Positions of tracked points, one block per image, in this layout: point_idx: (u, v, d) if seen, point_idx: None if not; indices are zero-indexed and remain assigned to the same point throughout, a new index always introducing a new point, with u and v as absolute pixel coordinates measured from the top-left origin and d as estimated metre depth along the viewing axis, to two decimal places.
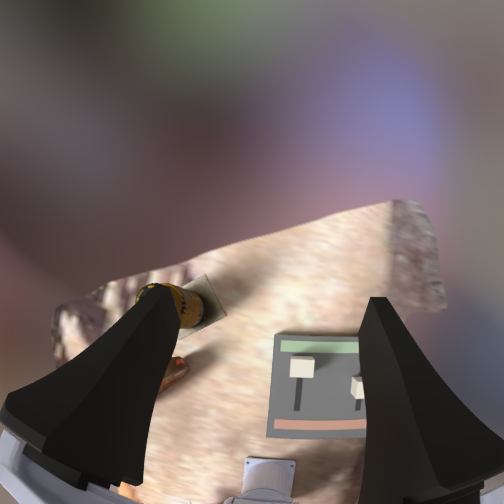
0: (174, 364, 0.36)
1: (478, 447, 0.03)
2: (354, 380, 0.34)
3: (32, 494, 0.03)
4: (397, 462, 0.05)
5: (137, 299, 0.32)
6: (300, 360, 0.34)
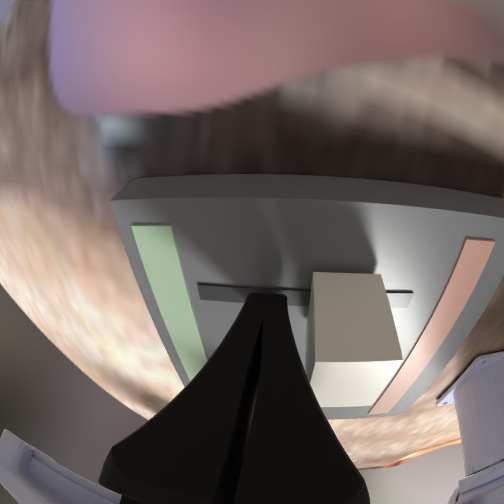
0: None
1: (314, 475, 0.04)
2: None
3: (32, 494, 0.03)
4: None
5: None
6: None
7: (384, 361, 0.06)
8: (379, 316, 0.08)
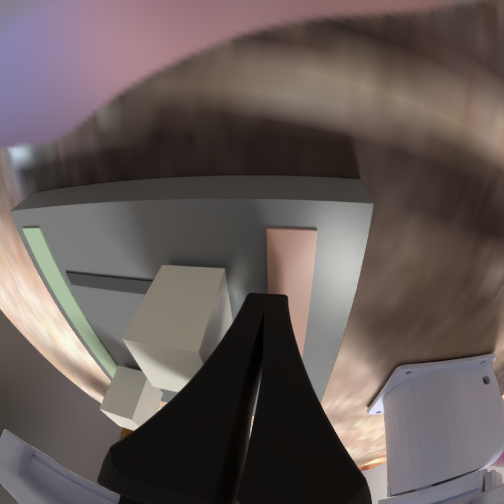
0: None
1: (316, 475, 0.04)
2: None
3: (32, 494, 0.03)
4: None
5: None
6: (113, 420, 0.15)
7: (179, 349, 0.07)
8: (197, 307, 0.08)
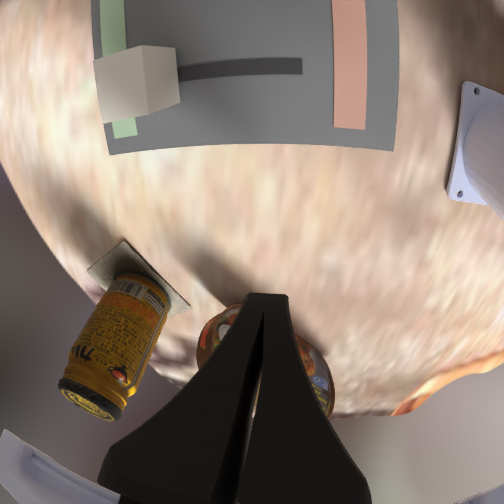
0: (204, 353, 0.19)
1: (316, 475, 0.04)
2: None
3: (32, 494, 0.03)
4: None
5: (96, 415, 0.17)
6: (100, 98, 0.09)
7: None
8: None
